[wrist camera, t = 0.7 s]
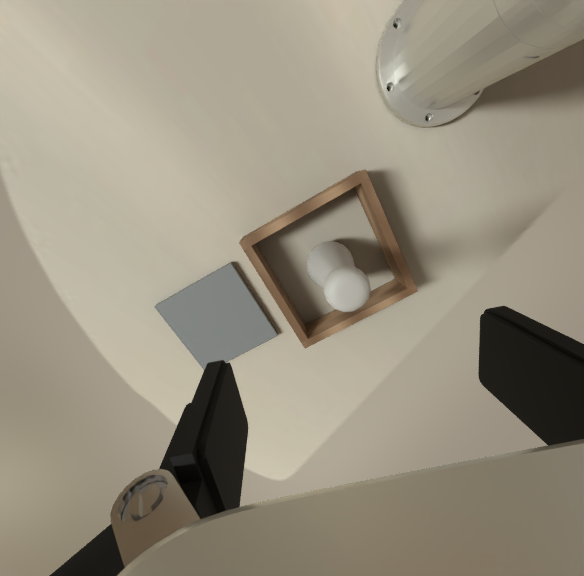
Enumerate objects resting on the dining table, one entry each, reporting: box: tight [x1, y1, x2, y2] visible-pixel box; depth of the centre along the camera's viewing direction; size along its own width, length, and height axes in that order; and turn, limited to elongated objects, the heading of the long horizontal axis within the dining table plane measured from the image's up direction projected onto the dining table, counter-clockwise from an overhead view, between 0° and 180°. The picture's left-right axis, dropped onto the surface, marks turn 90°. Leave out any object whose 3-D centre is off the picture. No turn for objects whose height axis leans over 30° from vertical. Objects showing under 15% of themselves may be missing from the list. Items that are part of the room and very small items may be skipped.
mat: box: [154, 262, 277, 370], centre depth 40 cm, size 12×12×1 cm
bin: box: [239, 170, 418, 348], centre depth 36 cm, size 16×16×4 cm
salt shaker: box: [307, 241, 371, 312], centre depth 32 cm, size 6×6×13 cm
